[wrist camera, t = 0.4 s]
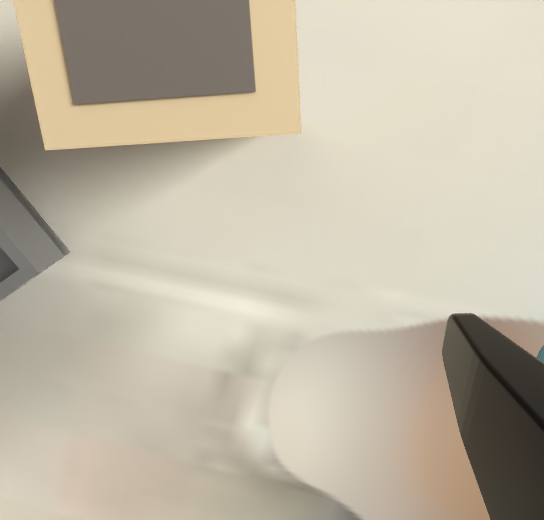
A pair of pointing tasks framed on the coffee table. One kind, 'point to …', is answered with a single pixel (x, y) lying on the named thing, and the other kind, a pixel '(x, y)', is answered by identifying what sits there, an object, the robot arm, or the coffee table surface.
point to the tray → (23, 240)
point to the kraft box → (160, 70)
